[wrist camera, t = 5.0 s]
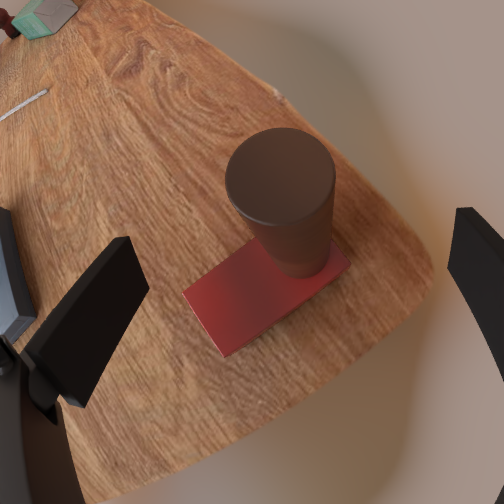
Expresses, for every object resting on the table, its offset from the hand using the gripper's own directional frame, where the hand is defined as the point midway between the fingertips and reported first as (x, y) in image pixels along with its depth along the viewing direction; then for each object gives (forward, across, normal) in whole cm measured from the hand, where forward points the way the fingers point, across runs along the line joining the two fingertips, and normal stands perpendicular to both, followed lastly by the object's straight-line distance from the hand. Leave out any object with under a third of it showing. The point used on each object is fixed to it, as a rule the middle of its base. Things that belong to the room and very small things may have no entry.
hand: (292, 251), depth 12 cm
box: (+42, -42, +30) cm, 66 cm away
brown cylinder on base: (+5, -2, -6) cm, 8 cm away
